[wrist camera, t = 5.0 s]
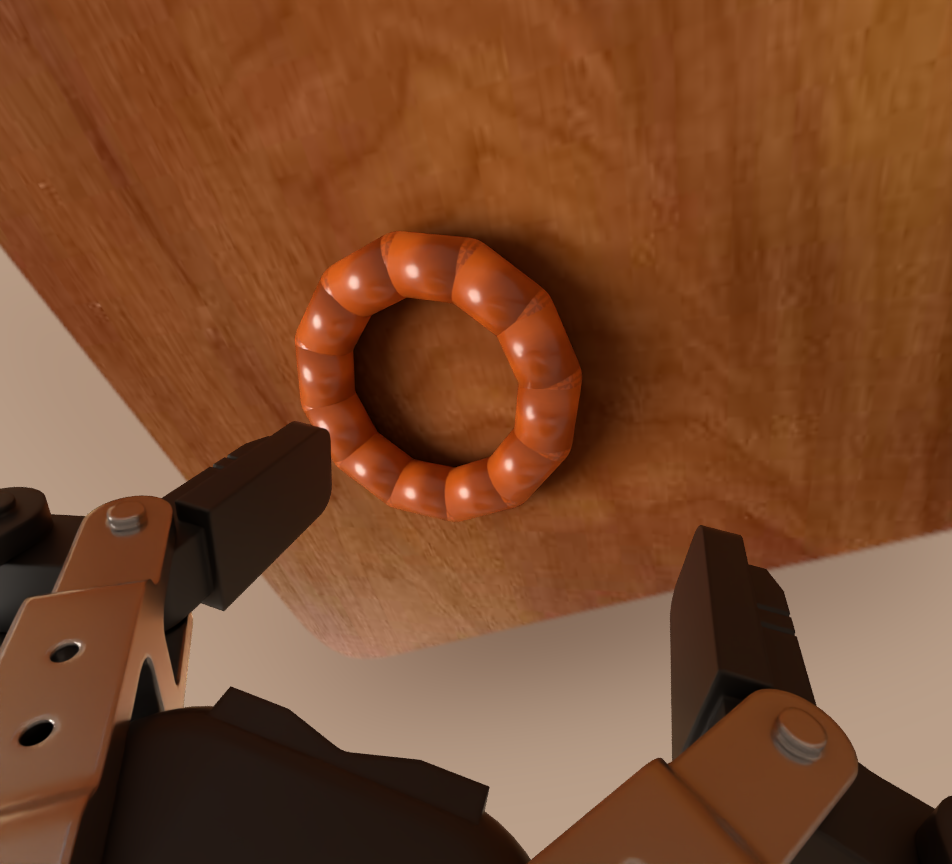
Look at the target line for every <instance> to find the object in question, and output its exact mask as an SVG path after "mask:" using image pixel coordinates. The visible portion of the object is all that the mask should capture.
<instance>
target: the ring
mask: <svg viewBox="0 0 952 864" xmlns="http://www.w3.org/2000/svg"><path fill="white" fill-rule="evenodd" d="M407 297H408V298H416V299H423V300H431V301H439V302H446V303H454V304H455V305H457V306H458V307H459V308H460V309H462V310H463V311H464V312H466V313H467V314H468V315H470V316H471V317H472V318H474V319H475V320H476V321H478V322H479V323H480V324H482V325H483V326H484V327H485V328H487V329H488V330H489V331H491V332H492V333H493V334H495V335H496V336H497V338H498V340H499V342H500V344H501V346H502V348H503V351H504V353H505V355H506V357H507V359H508V362H509V364H510V366H511V368H512V370H513V372H514V375H515V377H516V379H517V381H518V383H519V385H518V396H517V406H516V416H515V427H514V428H513V430H512V431H511V432H510V433H509V435H508V436H507V437H506V438H505V440H504V441H503V442H502V443H501V444H500V446H499V447H498V448H497V449H496V451H495V452H494V453H493V454H492V456H490V457H487V458H484V459H481V460H478V461H474V462H471V463H468V464H465V465H462V466H458V467H455V468H454V467H449V466H444V465H440V464H435V463H430V462H425V461H421V460H416V459H413V458H412V457H410V456H409V455H408V454H406V453H405V452H404V451H402V450H401V449H400V448H398V447H397V446H396V445H394V444H393V443H392V442H390V441H389V440H388V439H386V438H385V437H384V436H382V435H381V434H380V433H379V432H377V430H376V428H375V426H374V425H373V423H372V421H371V419H370V417H369V416H368V414H367V412H366V410H365V408H364V406H363V405H362V403H361V401H360V399H359V397H358V396H357V394H356V392H355V374H354V352H353V349H354V347H355V345H356V343H357V341H358V340H359V338H360V336H361V334H362V332H363V330H364V328H365V327H366V325H367V323H368V321H369V319H370V317H371V315H373V314H375V313H377V312H379V311H381V310H383V309H385V308H387V307H389V306H391V305H393V304H395V303H397V302H399V301H401V300H403V299H405V298H407ZM295 347H296V357H297V368H298V378H299V388H300V399H301V404H302V408H303V410H304V412H305V414H306V415H307V417H308V419H309V420H310V422H311V424H312V425H313V426H317V427H321V428H325V429H327V430H328V432H329V434H330V438H331V458H332V460H333V462H334V463H335V464H336V466H337V467H338V468H340V469H341V470H342V471H343V472H345V473H346V474H347V475H349V476H350V477H351V478H353V479H354V480H355V481H357V482H358V483H359V484H361V485H362V486H363V487H364V488H366V489H367V490H368V491H370V492H371V493H372V494H374V495H375V496H376V497H378V498H379V499H380V500H382V501H383V502H384V503H386V504H387V505H389V506H390V507H393V508H396V509H400V510H404V511H409V512H413V513H417V514H421V515H426V516H430V517H434V518H438V519H442V520H447V521H452V522H460V521H464V520H468V519H472V518H476V517H480V516H484V515H487V514H491V513H495V512H499V511H503V510H507V509H511V508H514V507H517V506H520V505H521V504H523V503H524V502H526V501H527V500H528V499H529V498H530V496H531V495H532V494H533V493H534V492H535V491H536V490H537V489H538V488H539V487H540V486H541V485H542V483H543V482H544V481H545V480H546V479H547V478H548V477H549V476H550V475H551V474H552V473H553V472H554V470H555V469H556V468H557V467H558V466H559V465H560V464H561V463H562V462H563V461H564V460H565V458H566V457H567V456H568V454H569V453H570V450H571V448H572V444H573V437H574V431H575V424H576V418H577V411H578V404H579V398H580V391H581V385H582V371H581V368H580V365H579V362H578V360H577V358H576V355H575V353H574V350H573V348H572V346H571V343H570V341H569V339H568V336H567V334H566V331H565V329H564V327H563V324H562V322H561V320H560V317H559V315H558V312H557V310H556V308H555V305H554V303H553V301H552V299H551V297H550V295H549V294H548V293H547V292H546V291H545V290H544V289H543V288H542V287H541V286H539V285H538V284H537V283H536V282H534V281H533V280H532V279H530V278H529V277H528V276H526V275H525V274H524V273H522V272H521V271H520V270H519V269H517V268H516V267H515V266H513V265H512V264H511V263H509V262H508V261H507V260H505V259H504V258H503V257H501V256H500V255H499V254H498V253H496V252H495V251H494V250H492V249H491V248H490V247H488V246H487V245H486V244H484V243H483V242H481V241H479V240H477V239H474V238H468V237H458V236H447V235H437V234H427V233H417V232H407V231H394V232H390V233H388V234H386V235H383V236H382V237H380V238H378V239H376V240H375V241H373V242H371V243H370V244H368V245H366V246H364V247H363V248H361V249H359V250H357V251H356V252H354V253H352V254H350V255H349V256H347V257H345V258H343V259H342V260H340V261H338V262H337V263H335V264H333V265H332V266H330V267H329V268H328V269H327V270H326V271H325V272H324V273H323V275H322V277H321V279H320V281H319V283H318V285H317V288H316V290H315V292H314V294H313V296H312V299H311V301H310V303H309V305H308V307H307V309H306V312H305V314H304V316H303V318H302V320H301V323H300V325H299V327H298V329H297V332H296V336H295Z"/></svg>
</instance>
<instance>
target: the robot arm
mask: <svg viewBox="0 0 952 864" xmlns="http://www.w3.org/2000/svg"><path fill="white" fill-rule="evenodd" d="M331 489H332V479H331V438H330V434H329V432H328V430H327V429H325V428H321V427H317V426H313V425H309V424H305V423H301V422H297V421H294V422H291V423H289V424H288V425H286V426H285V427H283V428H282V429H280V430H279V431H278V432H276V433H275V434H273V435H272V436H270V437H269V436H267V437H264V438H261V439H258V440H255V441H252V442H249V443H246V444H244V445H243V446H241V447H240V448H238V449H237V450H235V451H233V452H232V453H230V454H229V455H228V457H227V458H225V457H224V458H223V459H221V460H220V461H218V462H217V463H215V464H213V467H209V468H207V469H206V470H204V471H203V472H201V473H200V474H198V475H197V476H195V477H193V478H192V479H190V480H189V481H187V482H186V483H184V484H183V485H181V486H180V487H178V488H177V489H175V490H173V491H172V492H170V493H169V494H167V495H166V496H164V497H163V498H158V497H153V496H132V497H125V498H120V499H117V500H113V501H111V502H108V503H105V504H103V505H101V506H99V507H97V508H96V509H94V510H93V511H91V512H90V513H89V514H88V515H87V516H71V515H54V514H51V513H50V510H49V507H48V504H47V500H46V497H45V495H44V494H43V493H42V492H41V491H39V490H36V489H33V488H26V487H10V488H2V489H0V864H952V796H949V797H947V798H945V799H944V800H942V802H941V803H940V804H939V805H938V806H937V807H936V808H935V809H934V808H933V807H931V806H929V805H927V804H925V803H924V802H922V801H920V800H919V799H917V798H915V797H913V796H912V795H910V794H908V793H906V792H905V791H903V790H901V789H900V788H898V787H896V786H894V785H892V784H891V783H889V782H888V781H886V780H884V779H882V778H881V777H879V776H877V775H876V774H874V773H873V772H871V771H870V770H868V769H867V768H866V767H864V766H863V765H862V764H860V763H859V762H858V759H857V756H856V752H855V750H854V748H853V746H852V744H851V742H850V740H849V739H848V737H847V736H846V734H845V733H844V731H843V730H842V729H841V728H840V726H838V724H837V723H836V722H835V721H834V720H833V719H832V718H831V717H830V716H828V715H827V714H826V713H825V712H824V711H823V710H821V709H820V708H818V707H817V706H816V702H815V699H814V695H813V693H812V689H811V685H810V682H809V678H808V675H807V671H806V668H805V665H804V661H803V657H802V654H801V650H800V647H799V643H798V640H797V637H796V636H795V630H794V626H793V622H792V619H791V617H789V615H790V612H789V608H788V605H787V601H786V598H785V594H784V591H783V590H782V589H781V587H780V586H779V585H778V583H777V582H776V581H775V580H774V578H773V577H772V576H771V575H770V573H769V572H768V571H767V570H766V569H764V568H760V567H756V566H753V565H749V564H748V561H747V556H746V552H745V547H744V542H743V538H742V536H741V535H738V534H734V533H730V532H726V531H722V530H718V529H714V528H710V527H706V526H702V525H700V526H699V527H698V528H697V530H696V532H695V534H694V537H693V539H692V542H691V545H690V548H689V550H688V553H687V556H686V559H685V561H684V564H683V567H682V570H681V572H680V575H679V578H678V581H677V583H676V586H675V590H674V594H673V598H672V604H671V611H670V633H671V634H670V637H671V638H670V639H671V640H670V641H671V706H672V707H671V708H672V762H671V763H668V764H667V763H666V762H665V761H664V760H663V759H662V758H657V759H654V760H652V761H651V762H650V763H648V764H646V765H645V766H644V767H642V768H641V769H640V770H639V771H638V772H636V773H635V774H634V775H633V776H632V777H630V778H629V779H628V780H627V781H626V782H624V783H623V784H622V785H621V786H620V787H618V788H617V789H616V790H615V791H613V792H612V793H611V794H610V795H609V796H607V797H606V798H605V799H604V800H603V801H602V802H600V803H599V804H598V805H597V806H595V807H594V808H593V809H592V810H591V811H589V812H588V813H587V814H586V815H585V816H583V817H582V818H581V819H580V820H579V821H577V822H576V823H575V824H574V825H572V826H571V827H570V828H569V829H568V830H567V831H565V832H564V833H563V834H562V835H561V836H559V837H558V838H557V839H556V840H554V841H553V842H552V843H551V844H550V845H549V846H547V847H546V848H545V849H544V850H542V851H541V852H540V853H539V854H537V855H536V856H535V857H534V858H533V859H532V860H531V859H530V858H529V856H528V855H527V853H526V852H525V851H524V849H523V848H522V847H521V846H520V844H519V843H518V842H517V841H516V840H515V838H514V837H513V836H512V835H511V834H510V833H509V832H508V831H507V830H506V829H505V828H504V827H503V826H502V825H501V824H500V823H499V822H498V821H496V820H495V819H494V818H493V817H491V816H490V815H489V814H487V813H486V812H485V806H486V802H487V797H488V792H489V786H486V785H483V784H481V783H479V782H476V781H473V780H471V779H468V778H465V777H463V776H460V775H458V774H455V773H453V772H450V771H447V770H445V769H442V768H440V767H437V766H435V765H432V764H430V763H427V762H424V761H422V760H416V759H407V758H398V757H388V756H379V755H369V754H360V753H350V752H346V751H343V750H341V749H339V748H338V747H336V746H335V745H334V744H332V743H331V742H330V741H328V740H327V739H326V738H325V737H324V736H322V735H321V734H320V733H318V732H317V731H316V730H315V729H313V728H312V727H311V726H310V725H308V724H307V723H306V722H305V721H303V720H302V719H301V718H299V717H298V716H297V715H296V714H294V713H293V712H292V711H291V710H289V709H287V708H285V707H282V706H280V705H277V704H274V703H272V702H269V701H267V700H264V699H262V698H259V697H257V696H254V695H252V694H249V693H246V692H244V691H241V690H238V689H236V688H233V687H230V688H229V689H228V690H227V691H226V692H225V694H224V695H223V696H222V697H221V698H220V700H219V701H218V702H217V703H216V704H215V705H214V707H212V706H195V707H185V708H184V696H185V687H186V679H187V671H188V662H189V653H190V645H191V636H192V628H193V618H192V611H193V610H194V609H195V608H196V607H197V606H198V605H199V604H200V603H202V604H205V605H208V606H210V607H213V608H216V609H219V610H222V611H225V610H226V609H227V608H228V606H230V605H231V604H232V602H234V601H235V600H236V598H238V596H240V595H241V594H242V593H243V592H244V591H245V590H246V589H247V588H248V587H249V586H250V585H251V584H252V583H253V582H254V581H255V580H256V579H257V577H259V576H260V575H261V574H262V573H263V572H264V571H265V570H266V569H267V568H268V567H269V566H270V565H271V564H272V563H273V562H274V561H275V560H276V559H277V558H278V557H279V556H280V555H281V554H282V553H283V552H284V551H285V550H286V549H287V548H288V547H289V546H290V545H291V544H292V543H293V542H294V541H295V540H296V539H297V538H298V537H299V536H300V535H301V534H302V533H303V532H304V531H305V530H306V529H307V528H308V527H309V526H310V525H311V524H312V523H313V522H314V521H315V520H316V519H317V518H318V517H319V516H320V515H321V514H322V512H323V511H324V510H325V508H326V506H327V504H328V502H329V499H330V495H331Z"/></svg>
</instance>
